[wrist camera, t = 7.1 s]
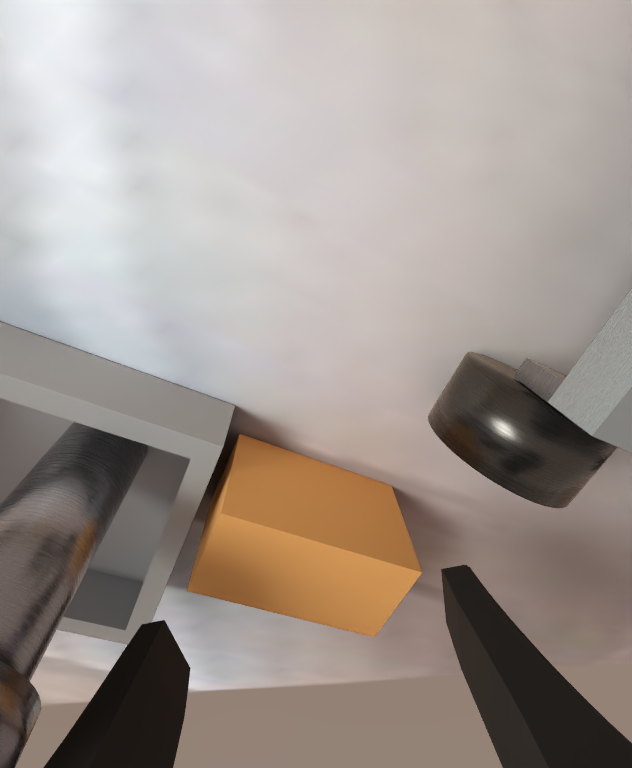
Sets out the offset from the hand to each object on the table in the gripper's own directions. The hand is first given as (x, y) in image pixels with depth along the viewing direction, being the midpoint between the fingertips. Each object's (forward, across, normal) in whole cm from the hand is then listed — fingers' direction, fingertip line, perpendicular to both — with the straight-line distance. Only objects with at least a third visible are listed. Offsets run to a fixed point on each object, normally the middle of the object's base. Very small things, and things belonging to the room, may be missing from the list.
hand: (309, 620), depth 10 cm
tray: (+5, +8, -3) cm, 10 cm away
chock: (+5, 0, 0) cm, 5 cm away
